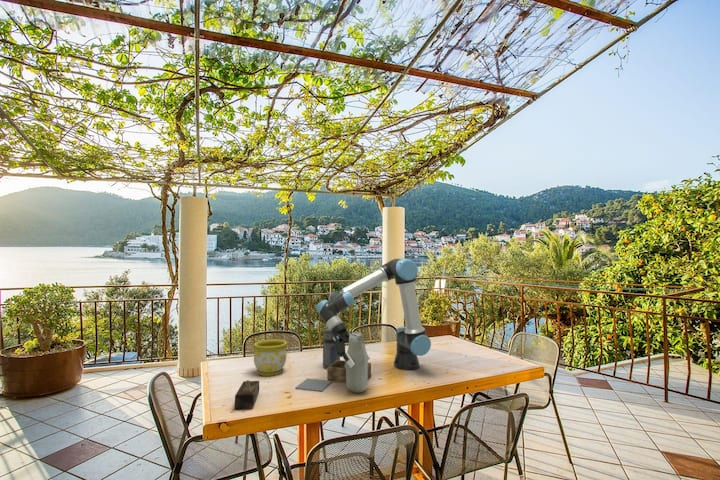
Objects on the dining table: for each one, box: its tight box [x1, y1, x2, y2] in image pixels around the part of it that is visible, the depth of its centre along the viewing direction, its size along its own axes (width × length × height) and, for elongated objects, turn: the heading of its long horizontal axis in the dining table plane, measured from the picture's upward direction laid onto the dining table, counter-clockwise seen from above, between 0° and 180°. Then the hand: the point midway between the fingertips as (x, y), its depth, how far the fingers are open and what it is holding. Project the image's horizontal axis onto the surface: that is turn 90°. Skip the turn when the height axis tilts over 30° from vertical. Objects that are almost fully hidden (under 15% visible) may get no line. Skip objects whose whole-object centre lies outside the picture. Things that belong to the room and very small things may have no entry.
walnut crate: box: [326, 359, 372, 384], centre depth 187 cm, size 20×14×7 cm
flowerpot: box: [253, 338, 288, 377], centre depth 197 cm, size 18×18×16 cm
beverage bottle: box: [322, 327, 341, 369], centre depth 208 cm, size 10×13×25 cm
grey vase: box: [345, 331, 369, 394], centre depth 168 cm, size 10×10×28 cm
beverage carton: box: [234, 379, 260, 410], centre depth 157 cm, size 8×19×7 cm, turn 8°
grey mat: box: [295, 378, 333, 393], centre depth 176 cm, size 14×14×1 cm
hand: (360, 362), depth 167 cm, fingers open, 12 cm apart
